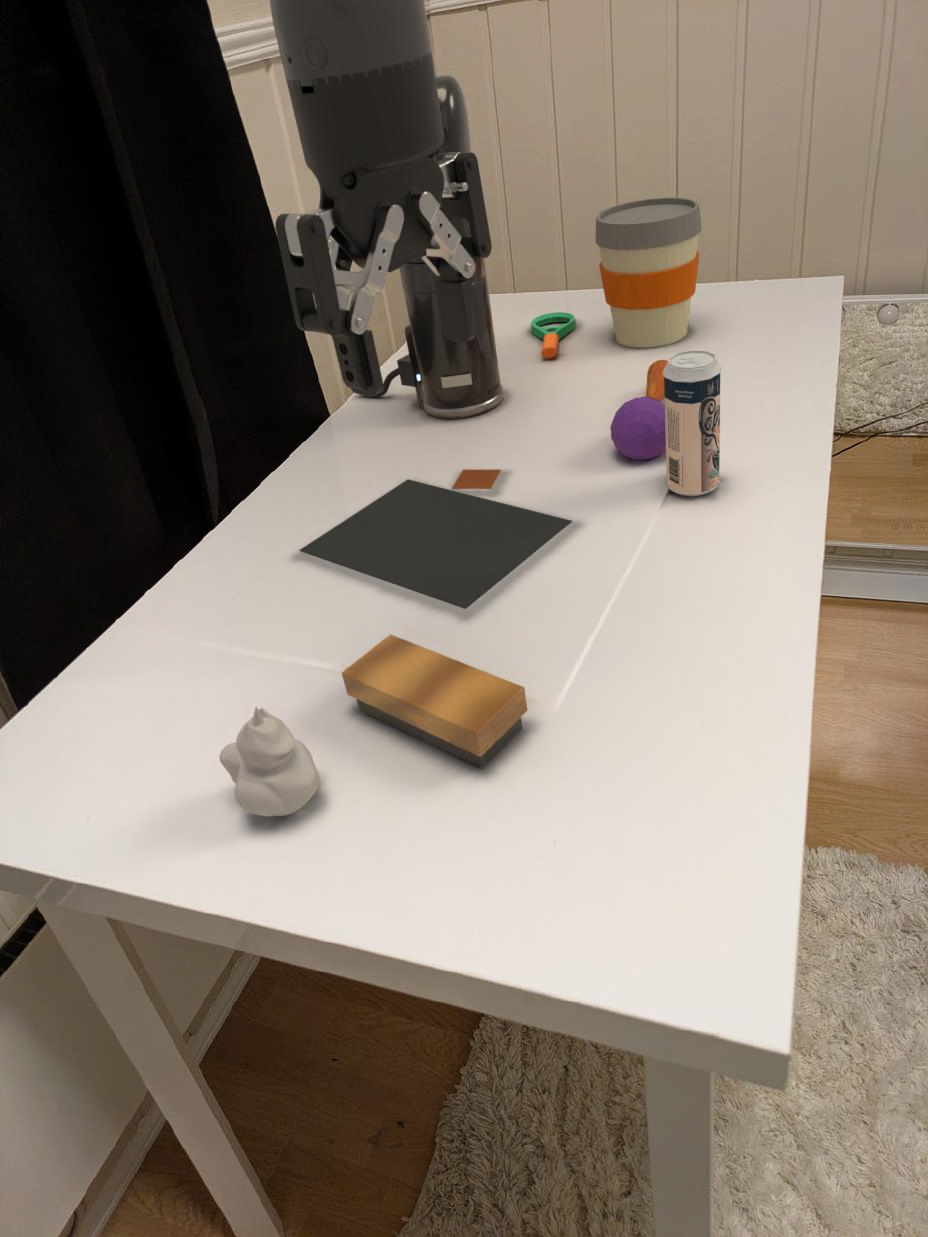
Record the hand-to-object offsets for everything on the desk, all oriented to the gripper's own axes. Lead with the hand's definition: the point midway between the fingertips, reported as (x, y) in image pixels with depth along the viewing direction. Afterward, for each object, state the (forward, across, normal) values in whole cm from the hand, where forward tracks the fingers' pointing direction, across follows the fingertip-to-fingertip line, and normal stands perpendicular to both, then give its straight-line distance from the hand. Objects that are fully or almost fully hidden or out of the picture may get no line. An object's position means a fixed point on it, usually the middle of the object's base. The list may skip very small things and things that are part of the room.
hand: (415, 365), depth 55 cm
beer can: (+23, -28, +3) cm, 37 cm away
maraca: (+23, -38, -7) cm, 45 cm away
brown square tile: (+22, -21, -16) cm, 35 cm away
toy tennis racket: (+24, -57, -33) cm, 70 cm away
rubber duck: (+22, +18, -1) cm, 29 cm away
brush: (+22, +8, +4) cm, 23 cm away
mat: (+22, -10, -13) cm, 28 cm away
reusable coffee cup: (+24, -62, -21) cm, 70 cm away
